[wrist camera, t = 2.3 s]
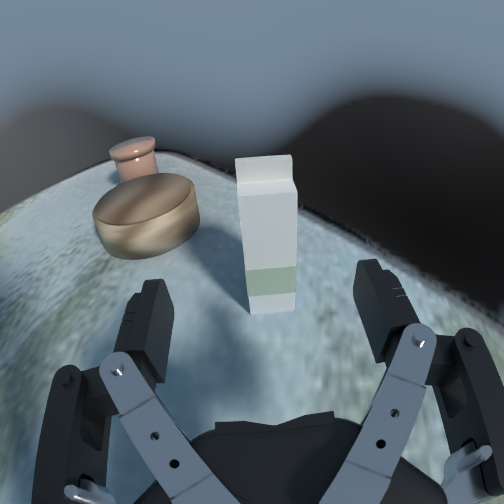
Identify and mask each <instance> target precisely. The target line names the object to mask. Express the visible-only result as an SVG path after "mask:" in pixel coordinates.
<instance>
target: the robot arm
mask: <svg viewBox="0 0 504 504" xmlns="http://www.w3.org/2000/svg"><path fill="white" fill-rule="evenodd" d="M353 296H354V301H355V304H356V307H357V309H358V312H359V315H360V318H361V320H362V323H363V326H364V329H365V332H366V335H367V338H368V340H369V343H370V346H371V349H372V352H373V355H374V358H375V361H376V364H377V363H381V362H385V364H386V367H387V368H386V370H385V373H384V375H383V377H382V379H381V382H380V384H379V386H378V388H377V391H376V393H375V395H374V397H373V399H372V401H371V403H370V405H369V407H368V409H367V411H366V413H365V415H364V417H363V419H362V421H361V423H360V424H357V423H355V422H353V421H350V420H347V419H342V418H335V417H334V412H333V411H329V412H323V413H316V414H310V415H304V416H301V417H299V418H296V419H293V420H290V421H287V422H285V423H282V424H279V425H266V424H260V423H253V422H247V421H234V422H215V429H213V430H210V431H207V432H205V433H203V434H201V435H199V436H198V437H196V438H195V439H193V440H192V441H191V440H190V439H189V438H188V436H187V435H186V434H185V432H184V431H183V430H182V429H181V427H180V426H179V425H178V424H177V422H176V421H175V420H174V418H173V417H172V415H171V414H170V413H169V411H168V410H167V408H166V407H165V406H164V404H163V403H162V401H161V400H160V398H159V397H158V395H157V394H156V392H155V386H156V383H165V376H166V369H167V361H168V354H169V347H170V341H171V334H172V328H173V322H174V307H173V303H172V300H171V298H170V295H169V292H168V290H167V287H166V284H165V281H164V280H163V279H153V280H145V281H144V284H143V287H142V291H141V293H135V294H134V295H133V296H132V298H131V299H130V300H129V301H128V303H127V306H126V310H125V314H124V316H123V320H122V321H123V322H122V323H121V326H120V330H119V333H118V337H117V341H116V344H115V348H114V351H113V353H111V354H109V355H108V356H106V357H105V358H104V360H103V361H102V362H101V365H100V366H99V367H96V368H92V369H88V370H85V371H80V370H79V368H77V367H76V366H74V365H66V366H63V367H62V368H60V369H59V370H58V371H57V372H56V374H55V375H54V378H53V381H52V385H51V389H50V393H49V397H48V401H47V405H46V410H45V414H44V419H43V424H42V429H41V434H40V439H39V445H38V451H37V457H36V464H35V472H34V480H33V490H32V501H31V504H116V501H115V498H114V496H113V494H112V493H111V492H110V490H108V489H107V488H106V473H107V459H108V447H109V436H110V427H111V419H112V415H116V414H120V416H119V419H120V421H121V423H122V425H123V427H124V429H125V430H126V432H127V434H128V436H129V437H130V439H131V441H132V442H133V444H134V446H135V447H136V449H137V450H138V452H139V454H140V455H141V457H142V458H143V460H144V461H145V463H146V464H147V466H148V468H149V469H150V470H151V472H152V473H153V475H154V476H155V478H156V480H155V481H154V482H153V483H152V484H151V486H150V487H149V488H148V489H147V490H146V491H145V492H144V493H143V494H142V495H141V496H140V497H139V498H138V499H137V500H136V501H135V502H134V503H133V504H477V503H480V502H483V501H486V500H489V499H492V498H495V497H497V496H500V495H502V494H504V386H503V384H502V381H501V378H500V376H499V374H498V371H497V369H496V366H495V364H494V362H493V359H492V357H491V355H490V353H489V350H488V348H487V346H486V344H485V342H484V340H483V338H482V336H481V335H480V334H479V333H478V332H477V331H476V330H474V329H471V328H462V329H460V330H459V331H458V332H457V333H456V335H455V336H445V335H437V334H435V333H434V332H433V330H432V329H431V328H429V327H428V326H426V325H424V324H421V323H420V321H419V319H418V317H417V315H416V313H415V311H414V309H413V307H412V305H411V303H410V301H409V299H408V297H407V296H406V293H405V291H404V289H403V288H402V285H401V283H400V281H399V280H398V278H397V277H396V276H395V275H394V274H393V273H392V272H391V271H390V270H382V268H381V266H380V264H379V262H378V260H377V259H368V260H359V261H358V263H357V268H356V274H355V280H354V285H353ZM424 385H432V387H433V390H434V393H435V397H436V400H437V403H438V407H439V410H440V414H441V418H442V421H443V425H444V429H445V433H446V437H447V441H448V445H449V450H450V454H451V455H450V456H449V457H448V459H447V460H446V462H445V465H444V478H443V482H442V484H441V485H439V484H438V483H437V482H436V481H434V480H433V479H431V478H430V477H429V476H427V475H426V474H424V473H423V472H422V471H420V470H419V469H418V468H416V467H415V466H414V465H412V464H411V463H409V462H408V461H407V460H405V459H404V458H403V457H401V455H402V452H403V450H404V448H405V446H406V443H407V441H408V438H409V436H410V434H411V431H412V429H413V426H414V423H415V421H416V418H417V415H418V413H419V410H420V407H421V404H422V401H423V399H424V396H425V392H426V387H424Z"/></svg>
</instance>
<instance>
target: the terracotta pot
mask: <svg viewBox="0 0 504 504" xmlns="http://www.w3.org/2000/svg"><path fill="white" fill-rule="evenodd" d="M155 147H156V144H155V139H154V138H153V137H139V138H134V139H130V140H128V141H125V142H122V143H120V144H118V145H116V146H114V147H113V148H111V150H110V151H109V152H110V156H111V159H112V160H114V161H115V164H116V168H117V171H118V175H119V179H120V182H121V184H122V183H124V182H126V181H129V180H131V179H134V178H137V177H141V176H145V175H150V174H157V173H159V172H158V168H157V163H156V159H155V154H154V148H155Z"/></svg>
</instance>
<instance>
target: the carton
mask: <svg viewBox="0 0 504 504" xmlns="http://www.w3.org/2000/svg"><path fill="white" fill-rule="evenodd" d="M235 165H236V175H237V194H238V206H239V215H240V224H241V233H242V243H243V252H244V262H245V276H246V285H247V293H248V297H249V305H250V314H251V315H256V314H267V313H278V312H289V311H294V308H295V292H296V274H297V265H296V249H297V190H296V187H295V185H294V182H293V179H292V158H291V155H279V156H265V157H264V156H263V157H251V158H239V159H235Z"/></svg>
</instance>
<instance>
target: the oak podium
mask: <svg viewBox="0 0 504 504" xmlns="http://www.w3.org/2000/svg"><path fill="white" fill-rule="evenodd" d="M92 215H93V219H94V222H95V225H96V227H97V230H98V232H99V235H100V238H101V240H102V243H103V245H104V247H105V249H106V251H107V252H108V253H109V254H111V255H113V256H114V257H117V258H121V259H129V260H136V259H145V258H150V257H154V256H157V255H161V254H163V253H166V252H168V251H170V250H172V249H174V248H176V247H178V246H179V245H181V244H182V243H184V242H185V241H186V240H188V239H189V238H190V237H191V236H192V235H193V234H194V232H195V231H196V230H197V228H198V226H199V223H200V215H199V210H198V205H197V199H196V194H195V188H194V184H193V182H192V181H191V180H190V179H188V178H186V177H184V176H181V175H178V174H172V173H157V174H150V175H145V176H141V177H137V178H134V179H131V180H129V181H126V182H124V183H122V184H120V185H118V186H116V187H114V188H113V189H111V190H110V191H108V192H107V193H106V194H105V195H104V196H103V197H102V198H101V199H100V200H99V201H98V203H97V204H96V205H95V207H94V209H93V214H92Z"/></svg>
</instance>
